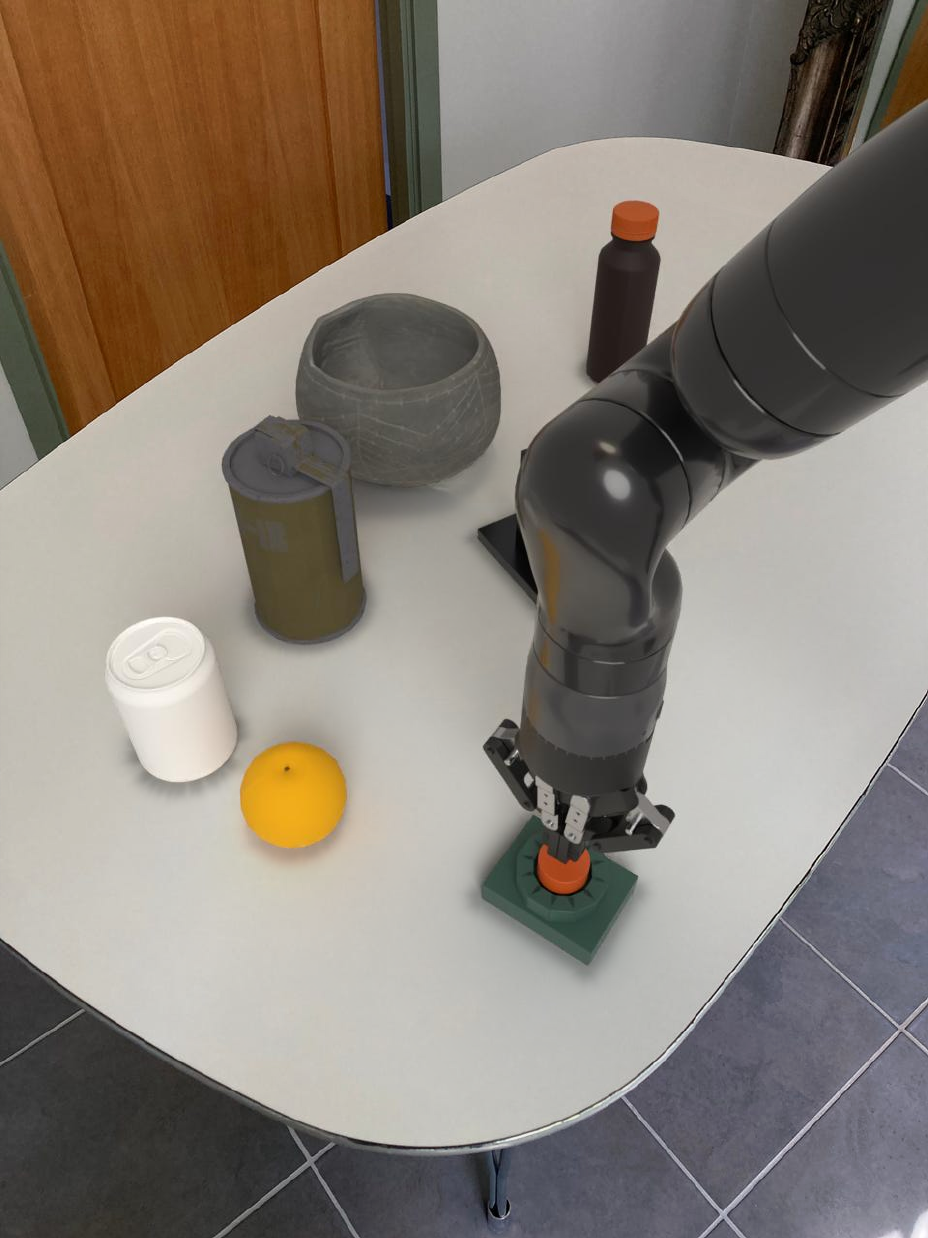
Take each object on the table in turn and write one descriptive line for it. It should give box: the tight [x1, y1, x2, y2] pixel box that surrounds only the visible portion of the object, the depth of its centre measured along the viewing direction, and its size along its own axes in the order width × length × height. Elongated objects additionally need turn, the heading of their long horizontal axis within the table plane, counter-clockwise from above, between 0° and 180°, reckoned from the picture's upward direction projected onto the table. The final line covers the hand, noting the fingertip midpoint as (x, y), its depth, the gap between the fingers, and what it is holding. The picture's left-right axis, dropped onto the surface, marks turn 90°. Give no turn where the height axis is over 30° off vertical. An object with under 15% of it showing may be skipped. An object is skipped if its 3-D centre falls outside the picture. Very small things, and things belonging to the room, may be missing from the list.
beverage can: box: [103, 616, 238, 783], centre depth 75 cm, size 8×8×12 cm
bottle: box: [585, 200, 662, 385], centre depth 108 cm, size 7×7×20 cm
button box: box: [481, 814, 639, 967], centre depth 69 cm, size 9×7×4 cm
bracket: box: [477, 448, 538, 605], centre depth 90 cm, size 12×9×13 cm
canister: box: [220, 414, 367, 645], centre depth 83 cm, size 11×10×20 cm
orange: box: [239, 741, 348, 849], centre depth 72 cm, size 8×8×8 cm
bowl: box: [294, 292, 502, 488], centre depth 99 cm, size 21×21×15 cm
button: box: [537, 844, 590, 894], centre depth 67 cm, size 4×4×2 cm
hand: (564, 849), depth 66 cm, fingers closed
